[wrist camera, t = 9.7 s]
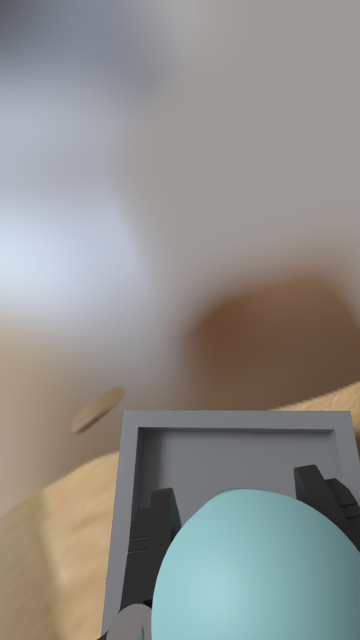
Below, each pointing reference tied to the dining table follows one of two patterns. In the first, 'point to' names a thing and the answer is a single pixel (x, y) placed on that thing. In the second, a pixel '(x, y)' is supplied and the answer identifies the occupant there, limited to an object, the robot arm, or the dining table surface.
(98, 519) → the dining table surface
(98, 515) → the dining table surface
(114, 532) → the grey square tray
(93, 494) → the dining table surface
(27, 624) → the dining table surface
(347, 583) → the teal cylinder
